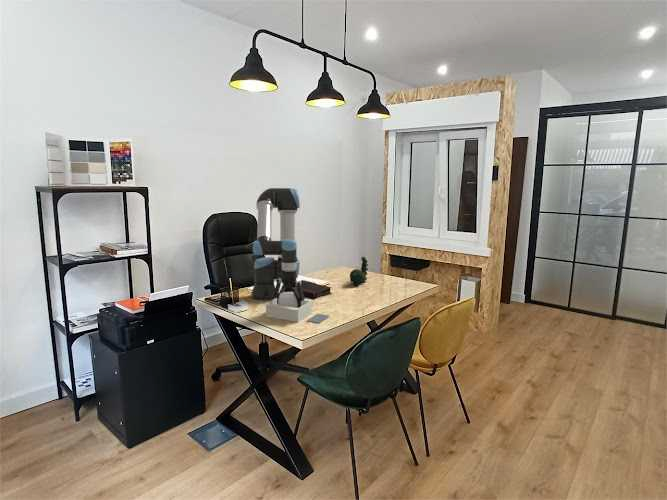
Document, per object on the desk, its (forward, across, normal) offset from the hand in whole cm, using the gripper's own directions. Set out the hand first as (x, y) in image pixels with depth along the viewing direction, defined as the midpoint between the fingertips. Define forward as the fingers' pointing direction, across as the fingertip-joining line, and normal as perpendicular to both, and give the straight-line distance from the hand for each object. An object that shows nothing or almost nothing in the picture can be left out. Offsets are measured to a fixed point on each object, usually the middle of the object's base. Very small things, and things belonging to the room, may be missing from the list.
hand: (288, 311), depth 205 cm
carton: (+2, 0, 0) cm, 2 cm away
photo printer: (+2, 0, 0) cm, 2 cm away
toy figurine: (+2, +9, +79) cm, 80 cm away
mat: (+2, +16, +2) cm, 16 cm away
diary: (+2, -11, +42) cm, 44 cm away
